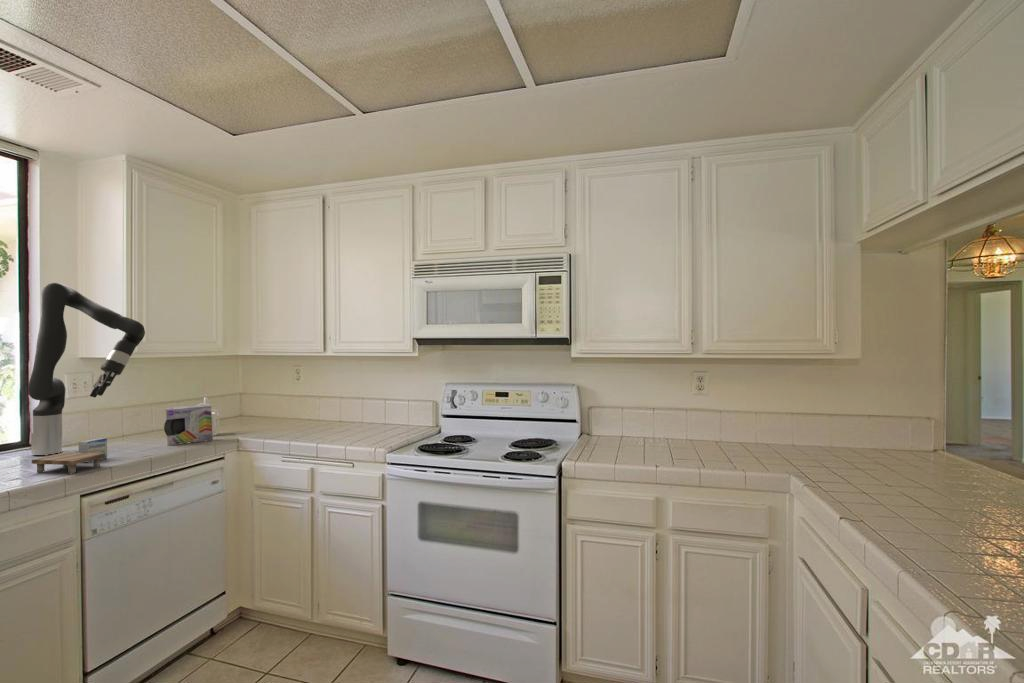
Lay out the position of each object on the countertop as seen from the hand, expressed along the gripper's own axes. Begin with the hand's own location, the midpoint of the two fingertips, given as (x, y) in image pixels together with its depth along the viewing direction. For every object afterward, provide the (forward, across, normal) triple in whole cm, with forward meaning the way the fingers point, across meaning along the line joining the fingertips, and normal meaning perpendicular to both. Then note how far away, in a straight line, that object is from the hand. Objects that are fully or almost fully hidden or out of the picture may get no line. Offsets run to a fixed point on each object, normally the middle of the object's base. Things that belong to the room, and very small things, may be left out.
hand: (95, 395), depth 204 cm
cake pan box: (+8, +1, +42) cm, 43 cm away
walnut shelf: (+31, +17, +2) cm, 36 cm away
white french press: (0, -10, +53) cm, 54 cm away
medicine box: (+26, +7, +10) cm, 29 cm away
